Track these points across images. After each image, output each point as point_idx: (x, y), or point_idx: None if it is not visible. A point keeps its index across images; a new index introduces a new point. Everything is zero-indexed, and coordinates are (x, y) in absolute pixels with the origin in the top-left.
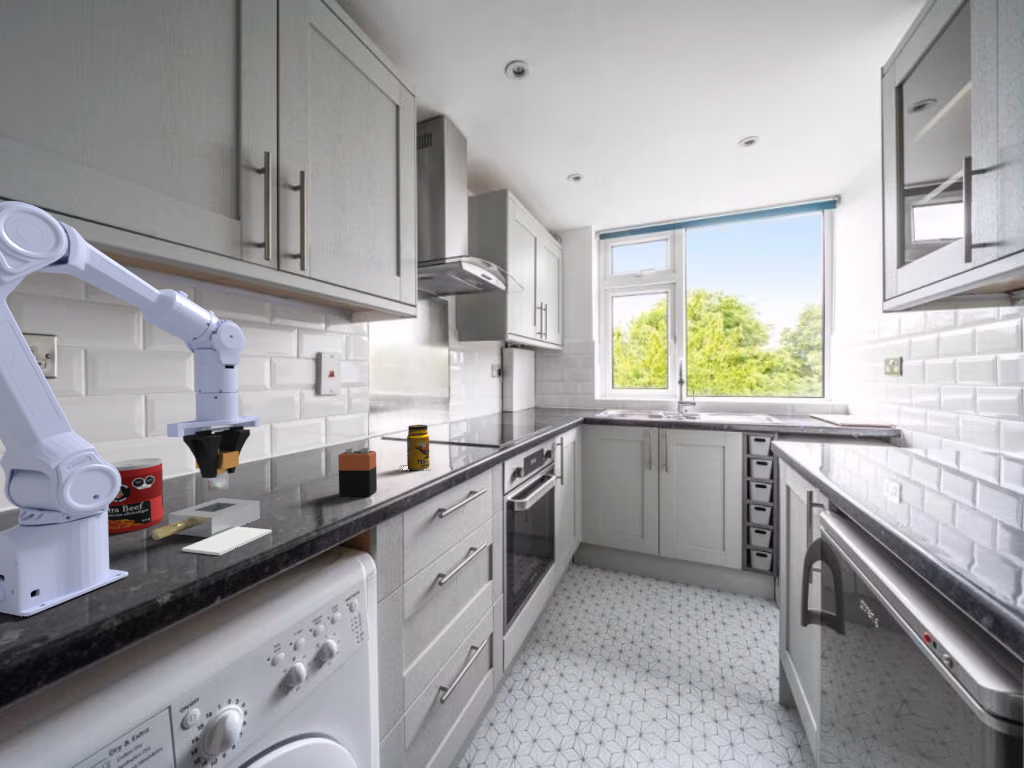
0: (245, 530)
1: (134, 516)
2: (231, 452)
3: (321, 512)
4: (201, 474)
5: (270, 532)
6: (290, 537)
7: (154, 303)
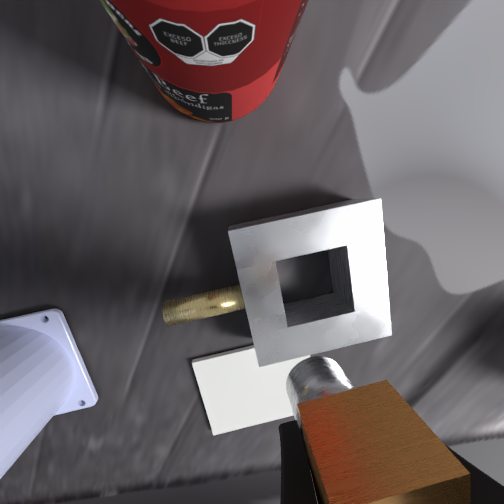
0: None
1: (190, 107)
2: None
3: (431, 385)
4: (280, 440)
5: None
6: None
7: None
